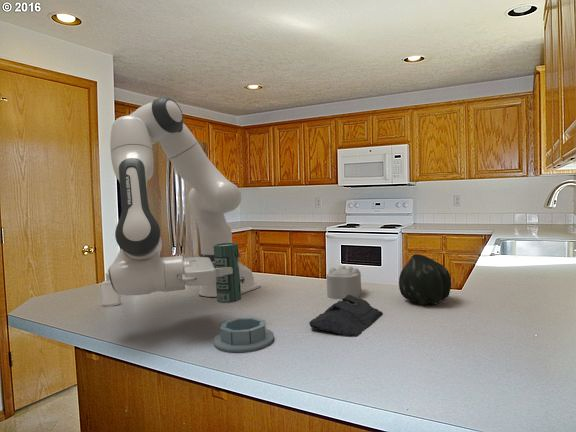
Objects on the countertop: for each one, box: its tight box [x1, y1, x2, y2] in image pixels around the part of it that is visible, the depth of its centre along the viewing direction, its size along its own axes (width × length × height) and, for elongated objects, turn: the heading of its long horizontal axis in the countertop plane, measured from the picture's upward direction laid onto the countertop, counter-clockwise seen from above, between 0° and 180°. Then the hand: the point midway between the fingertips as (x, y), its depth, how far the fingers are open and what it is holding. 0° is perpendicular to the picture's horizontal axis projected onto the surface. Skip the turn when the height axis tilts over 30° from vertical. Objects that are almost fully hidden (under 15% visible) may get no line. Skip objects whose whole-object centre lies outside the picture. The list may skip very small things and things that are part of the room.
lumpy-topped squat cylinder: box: [326, 265, 362, 300], centre depth 135 cm, size 10×13×9 cm
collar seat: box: [213, 316, 275, 354], centre depth 97 cm, size 14×14×4 cm
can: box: [214, 242, 242, 304], centre depth 110 cm, size 6×6×15 cm
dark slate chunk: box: [308, 295, 384, 337], centre depth 108 cm, size 15×22×5 cm
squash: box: [398, 253, 452, 306], centre depth 122 cm, size 14×15×15 cm
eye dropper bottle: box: [100, 268, 122, 307], centre depth 136 cm, size 4×6×12 cm
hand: (230, 267), depth 111 cm, fingers closed on can, 6 cm apart
